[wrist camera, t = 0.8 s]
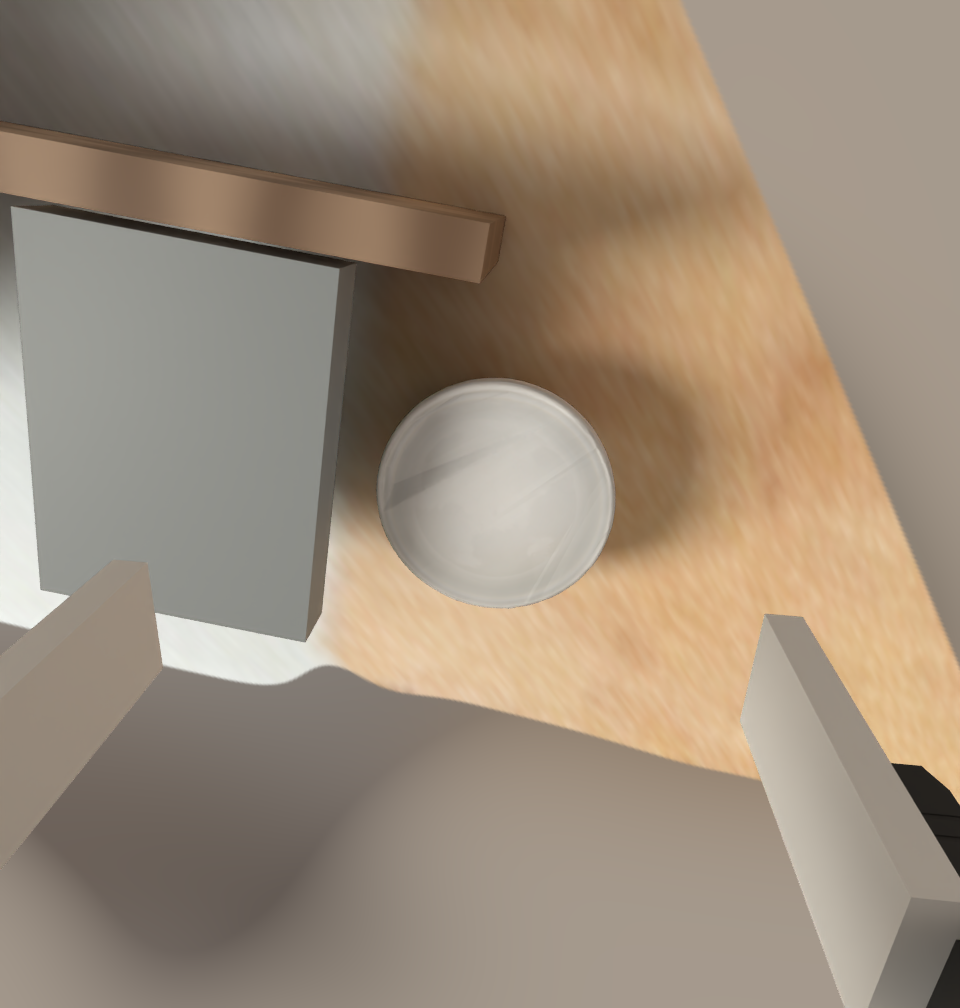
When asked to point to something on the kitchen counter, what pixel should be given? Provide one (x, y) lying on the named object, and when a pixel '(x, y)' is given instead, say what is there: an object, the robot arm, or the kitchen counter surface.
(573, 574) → the ramekin
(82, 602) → the robot arm
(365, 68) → the kitchen counter surface
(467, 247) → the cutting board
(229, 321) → the lid
